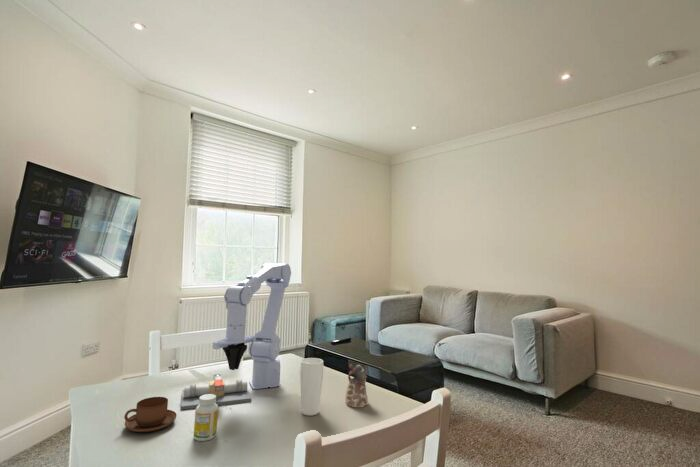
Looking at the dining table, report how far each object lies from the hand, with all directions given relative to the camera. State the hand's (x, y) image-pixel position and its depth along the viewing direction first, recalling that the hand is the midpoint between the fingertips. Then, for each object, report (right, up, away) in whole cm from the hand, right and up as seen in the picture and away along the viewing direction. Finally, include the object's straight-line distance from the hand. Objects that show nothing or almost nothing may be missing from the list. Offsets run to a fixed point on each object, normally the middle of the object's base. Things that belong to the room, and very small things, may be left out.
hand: (233, 368), depth 111 cm
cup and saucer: (-16, -9, -17) cm, 25 cm away
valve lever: (-5, -5, 0) cm, 7 cm away
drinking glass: (+24, -11, -6) cm, 27 cm away
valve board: (-7, -11, +4) cm, 13 cm away
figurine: (+38, -12, +3) cm, 40 cm away
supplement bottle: (0, -9, -22) cm, 23 cm away
